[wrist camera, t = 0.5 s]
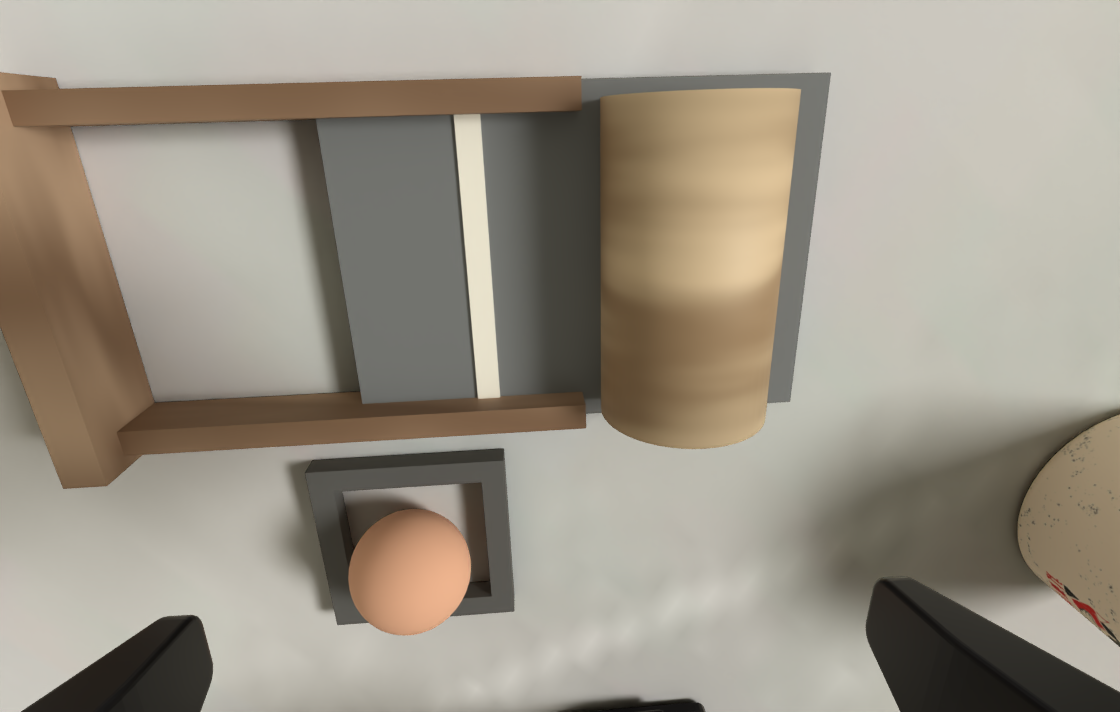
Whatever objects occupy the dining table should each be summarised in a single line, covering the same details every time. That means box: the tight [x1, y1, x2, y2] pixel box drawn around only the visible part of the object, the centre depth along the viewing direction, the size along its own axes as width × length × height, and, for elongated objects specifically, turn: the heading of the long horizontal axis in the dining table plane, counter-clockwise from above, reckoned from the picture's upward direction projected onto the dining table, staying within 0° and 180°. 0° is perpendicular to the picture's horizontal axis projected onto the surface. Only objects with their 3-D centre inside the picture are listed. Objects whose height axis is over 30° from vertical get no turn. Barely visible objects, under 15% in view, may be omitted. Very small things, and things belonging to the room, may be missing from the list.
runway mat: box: [316, 73, 831, 414], centre depth 18 cm, size 10×14×1 cm
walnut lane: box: [0, 72, 586, 489], centre depth 17 cm, size 11×15×3 cm
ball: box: [348, 509, 471, 635], centre depth 20 cm, size 4×4×4 cm
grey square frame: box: [305, 449, 514, 625], centre depth 22 cm, size 7×7×1 cm
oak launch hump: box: [600, 88, 801, 449], centre depth 17 cm, size 9×5×5 cm, turn 2°
